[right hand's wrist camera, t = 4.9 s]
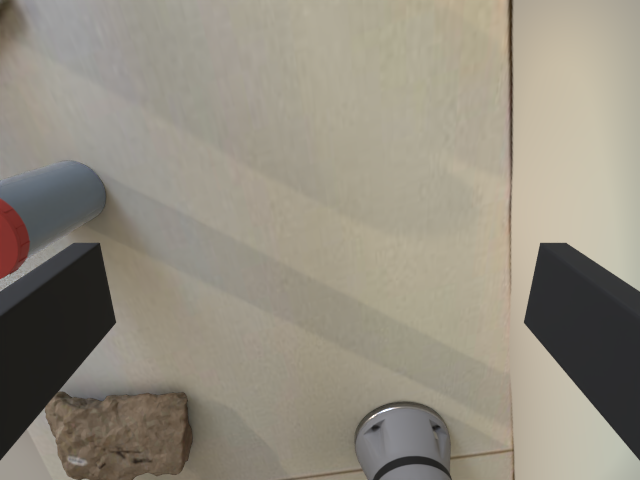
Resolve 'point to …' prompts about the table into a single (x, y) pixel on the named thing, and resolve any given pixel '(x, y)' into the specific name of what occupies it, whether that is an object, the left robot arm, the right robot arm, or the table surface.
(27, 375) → the right robot arm
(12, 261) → the lid
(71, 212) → the jar
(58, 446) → the stone
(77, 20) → the table surface
